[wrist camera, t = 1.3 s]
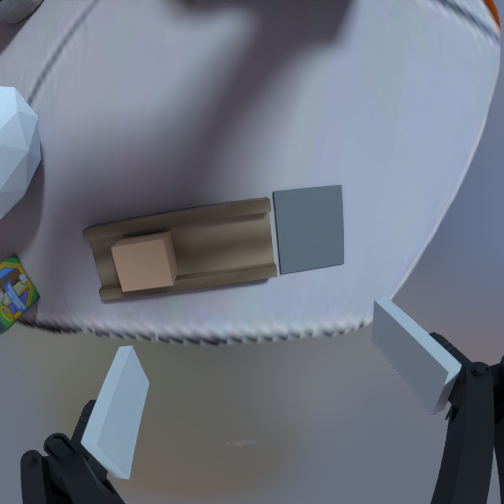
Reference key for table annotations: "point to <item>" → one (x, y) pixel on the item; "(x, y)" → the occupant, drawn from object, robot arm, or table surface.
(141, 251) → the block
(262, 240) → the chute
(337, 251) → the mat
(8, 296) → the chalk box
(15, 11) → the planter
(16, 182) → the geometric polyhedron
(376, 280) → the table surface
